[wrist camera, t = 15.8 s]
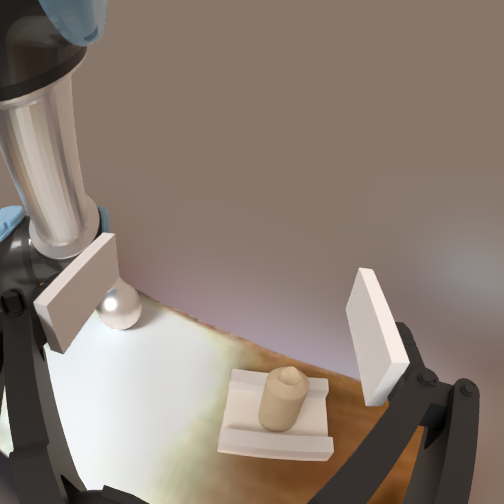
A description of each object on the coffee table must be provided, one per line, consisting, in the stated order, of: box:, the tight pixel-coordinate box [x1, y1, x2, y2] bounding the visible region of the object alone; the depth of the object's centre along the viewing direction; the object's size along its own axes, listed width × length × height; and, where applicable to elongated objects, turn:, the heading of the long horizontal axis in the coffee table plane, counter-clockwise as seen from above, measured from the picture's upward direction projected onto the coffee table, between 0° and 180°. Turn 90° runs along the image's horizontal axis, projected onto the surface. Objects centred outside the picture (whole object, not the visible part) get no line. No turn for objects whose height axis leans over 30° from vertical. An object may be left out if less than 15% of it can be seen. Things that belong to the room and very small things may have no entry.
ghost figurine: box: [94, 277, 142, 330], centre depth 53 cm, size 9×10×10 cm
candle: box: [258, 366, 309, 432], centre depth 39 cm, size 6×6×10 cm
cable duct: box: [218, 368, 334, 461], centre depth 41 cm, size 15×13×3 cm
